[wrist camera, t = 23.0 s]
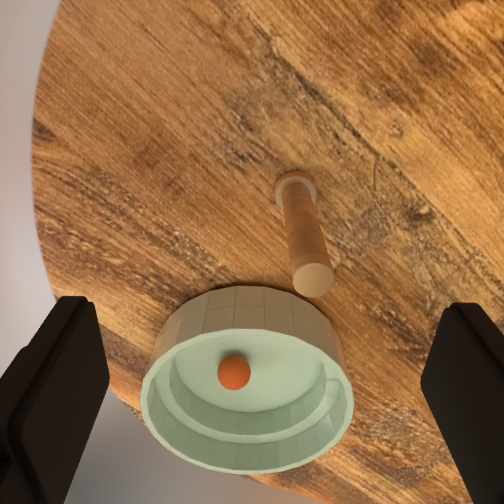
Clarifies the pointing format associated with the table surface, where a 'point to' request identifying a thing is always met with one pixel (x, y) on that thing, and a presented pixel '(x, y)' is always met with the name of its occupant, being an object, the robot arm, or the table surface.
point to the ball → (233, 372)
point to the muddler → (304, 235)
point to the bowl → (256, 390)
